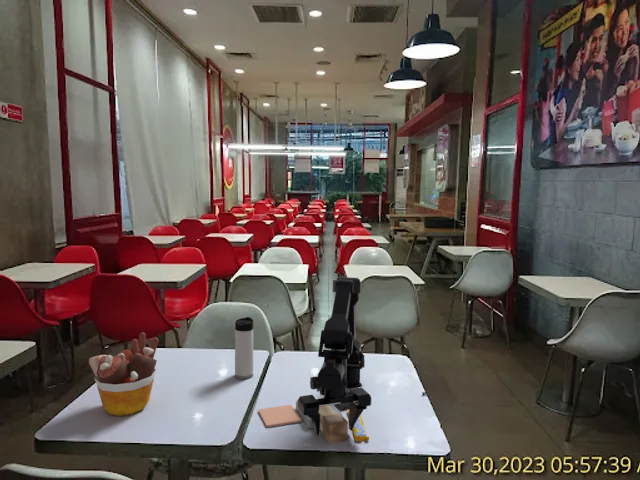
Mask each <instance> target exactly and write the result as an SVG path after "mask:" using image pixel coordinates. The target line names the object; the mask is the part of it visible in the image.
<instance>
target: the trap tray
mask: <svg viewBox="0 0 640 480" xmlns="http://www.w3.org/2000/svg"><path fill="white" fill-rule="evenodd" d="M349 391H350V390H348V391H347V390H346V395H348V394H349ZM334 406H335V407H336V408H337V409H339V411H340V410H347V409H349V402H348V403H341V404H335V405H334Z"/></svg>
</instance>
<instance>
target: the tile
mask: <svg viewBox="0 0 640 480" xmlns="http://www.w3.org/2000/svg"><path fill="white" fill-rule="evenodd" d="M257 411H258V413H259V415H260V417H261V419H262V421H263V423H264V425H265V427H266V428H272V427H280V426H284V425H286V426H287V425H290V424H291V425H292V424H297V423H302V422H303V419H302V417H301V416H300V414H299V413H298V411H297V410H296V408H295V407H294V406H293V405H292V404H286V405H279V406H278V405H277V406H273V407H265V408H259V409H257Z"/></svg>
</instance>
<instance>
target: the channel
mask: <svg viewBox="0 0 640 480" xmlns="http://www.w3.org/2000/svg"><path fill="white" fill-rule="evenodd" d="M321 398H324V396H321ZM321 398H320V399H321ZM329 406H330V407H331V408H332V409H333V410H334V412H335V413H336V414H341V415H342V416H343V414H342V413H341V411H340V409H339V408H338V407H337V406H336V405H329ZM338 409H339V410H338ZM295 410H296V412H297V413H298V415H299V416H300V418H301V419H302V421H304V423H305V425H306V426H307V427H308V429H314V426H313V423H312V420H311V418H309V417H308V416H306V415H303V413H302V412H301V410H300V409H299V408H298V400H296V401H295Z"/></svg>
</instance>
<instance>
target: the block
mask: <svg viewBox="0 0 640 480" xmlns="http://www.w3.org/2000/svg"><path fill="white" fill-rule="evenodd" d="M341 414H342V413H341ZM341 414H333V415H327V416H323V429H322V431H321V432H322V436H323V437H324V439H325V440H326V441H327V443H328V444H335V443H341V442H346V441H348V434H349V433H348V430H349V424H348V423H349V421H347V419H346V418H345V417H344V415H343V414H342V415H341Z"/></svg>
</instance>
